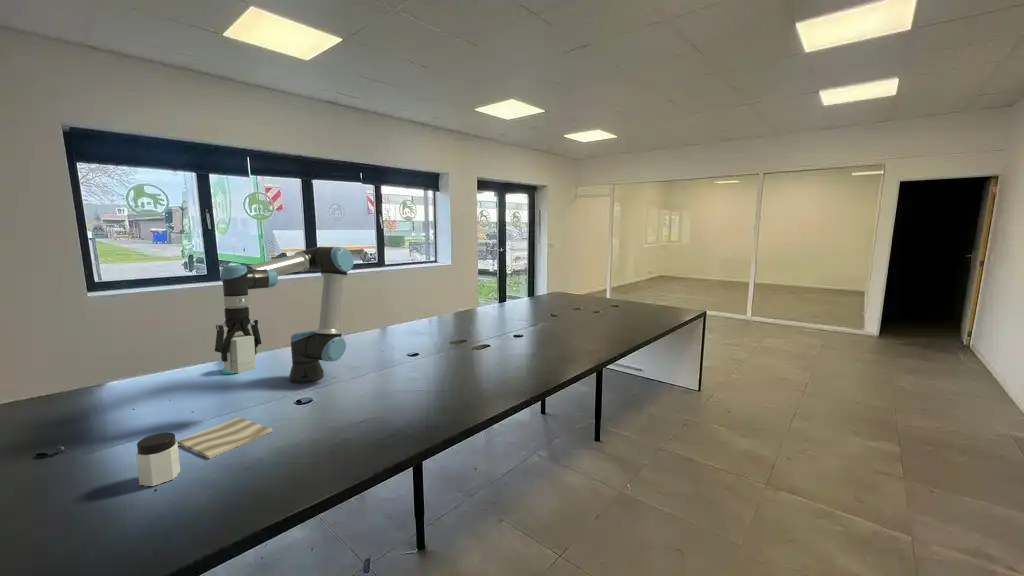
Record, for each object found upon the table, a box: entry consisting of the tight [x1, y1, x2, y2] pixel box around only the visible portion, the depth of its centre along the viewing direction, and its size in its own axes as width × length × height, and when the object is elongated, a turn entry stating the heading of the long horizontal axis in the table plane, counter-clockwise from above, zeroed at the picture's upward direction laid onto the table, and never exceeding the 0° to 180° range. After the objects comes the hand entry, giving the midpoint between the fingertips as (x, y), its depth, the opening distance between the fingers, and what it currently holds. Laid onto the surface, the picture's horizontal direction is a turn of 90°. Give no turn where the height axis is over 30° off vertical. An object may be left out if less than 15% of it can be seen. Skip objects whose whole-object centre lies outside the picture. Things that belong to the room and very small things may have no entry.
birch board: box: [176, 417, 273, 459], centre depth 139 cm, size 20×20×1 cm
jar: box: [135, 431, 181, 486], centre depth 115 cm, size 9×8×12 cm
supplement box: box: [223, 334, 257, 374], centre depth 152 cm, size 7×7×13 cm
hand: (240, 366), depth 153 cm, fingers closed on supplement box, 8 cm apart
